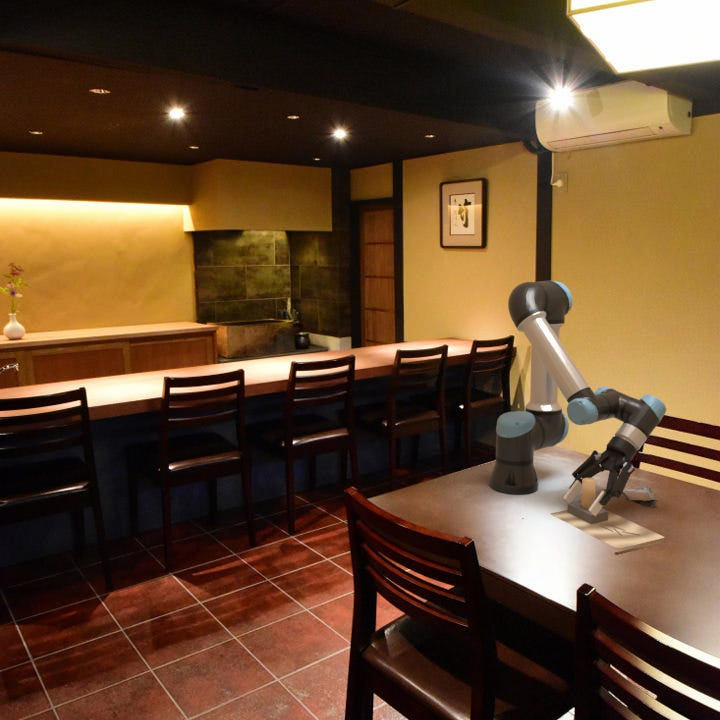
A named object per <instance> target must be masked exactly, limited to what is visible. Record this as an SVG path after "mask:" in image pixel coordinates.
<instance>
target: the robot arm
mask: <svg viewBox="0 0 720 720" xmlns="http://www.w3.org/2000/svg"><path fill="white" fill-rule="evenodd" d="M507 306H508V312H509V316H510V318H511V321H512V322H513V324H514V326H515V328H516V329H517V331H518V332H521V333H524V336H525V337H526V339H527V340H528V342H529V343H530V346H531V347H530V351H531V352H530V353H531V354H530V386H529V387H530V391H529V392H530V393H529V395H530V397H529V398H530V399H529V401H528V402H527V403H526V404H525V406H524V409H525V410H524V411H523V410H516V411H508V412H504V413H502V414H501V415H499V417H498V418H497V421H496V427H495V434H496V435H495V463H494V466H493V468H492V472H491V475H490V477H489V487H490V488H491V489H493V490H495V491H497V492H501V493H504V494H511V495H527V494H532V493H535V492H536V491H538V489H539V478H538V475H537V472H536V469H535V465H534V455H535V454H534V452H535V451H538V450H540V449H545V448H550V447H554V446H556V445H557V444H560V443H562V442H563V441H564V440H565V438H567V436H568V433H569V430H570V429H569V427H570V425H569V424H570V423H569V421H570V422H571V423H572V424H575V425H577V426H584V425H593V424H594V423H597V422H600V421H606V420H609V419H616V420H619V421H621V422H622V424H621V425H620V427H619V428H617V431H616V432H615V434H614V436H612V437H611V439H610V440H609V441H608V443H607V444H606V449H605V450H604V451H603V452H598V451H597V450H593V451H592V452H591V454H590V456H589V457H588V458H587V459H586V460H584V462H582V464H581V465H579V466H578V467H577V468H576V469H575V470H574V471H573V472H572V474H571V476H572V477H573V478H574V480H573V482H572V483H571V485H570V486H569V489H568V491H567V492H566V493H565V495H564V496H563V500H565V501H566V502H567V504H570V503H573V501H574V500H575V498H576V497H577V496H578V494H579V493H580V492H581V491H582V479H583V478H594V477H595V476H597V475H598V474H599V473H603V472H605V471H607V472H608V476H607V477H608V478H607V483H606V487H605V488H604V490H601V491H600V493H599V494H598V496H597V498H595V501H594V503H593V504H592V505H591V507H590V508H589V511H590V512H591V513H592V514H593V515H594V516H596V515H597V514H598V512H599V511H600V510H601V508H603V507H606V506H607V504H608V502H609V501H610V500H611V499H612V498H617V499H619V498H621V497H622V496H621V494H622V492H623V490H624V488H626V485H627V483H628V481H629V479H630V477H631V475H632V473H634V471H635V470H636V469H635V467H634V466H633V464H632V463H631V461H632V460H633V459H634V458H635V456H636V455H637V453H638V451H639V450H640V449H641V448H642V446H643V445H644V444H645V442H646V441H647V440H648V438H649V437H650V435H651V434H652V432H653V431H654V430H655V429H656V427H657V426H658V425H659V423H661V420H662V419H663V417H664V416H665V414H666V412H667V406H666V404H665V402H663V401H662V400H661V399H660V398H658V397H656V396H654V395H651V394H645V395H643V396H642V397H640V399H638V398H634V397H633V396H629V395H628V394H626V393H622V392H620V391H618V390H616V389H614V388H612V387H611V388H610V387H608V386H600V387H598V389H596V390H594V391H593V390H592V388H591V386H590V385H589V384H588V382H587V380H586V379H585V377H584V376H583V374H582V373H581V371H580V369H579V368H578V367H577V365H576V364H575V362H574V360H573V359H572V358H571V356H570V354H569V352H568V351H567V349H566V348H565V347H564V345H563V343H562V342H561V340H560V329H561V328H562V327H563V326H564V325H565V317H566V315H567V314H569V312H570V311H571V309H572V306H573V295H572V293H571V290H570V289H569V287H567V286H566V284H564V283H563V282H560V281H556V280H542V281H525V282H522V283H520V284H517V286H515V287H514V288H513V289H512V291H511V293H510V294H509V298H508V301H507ZM558 390H560V392H561V394H562V395H563V397H564V398H565V400H566V402H567V407H566V414H565V413H564V412H563V406H562V405H561V404H560V403H559V402H558ZM566 415H567V416H566ZM568 419H569V420H568Z"/></svg>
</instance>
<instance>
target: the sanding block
mask: <svg viewBox="0 0 720 720" xmlns="http://www.w3.org/2000/svg"><path fill="white" fill-rule="evenodd" d="M581 479H582V478H581ZM596 492H597V480H596V479H595V478H594V477H592V478H583V479H582V489H581V499H580V500H581V501H576V502H571V503H570V504H569V503H567V510H568V513H570V514H572V515H574V516H576V517H578V518H580V519H582V520H584V521H586V522H588V523H590V524H594V523H598V522H603V521H607V520H608V511H609V510H607V509H605V508H603V507H602V508H603V509H602V508H601V510H600V511H599V512H598V514H597V515H596V516H594V515H593V514H592V513H591V512H590V511H589V508H590V507H591V505H592V504H593V503H594V501H595V500H596V495H597V493H596ZM604 509H605V510H604ZM606 510H607V511H606Z"/></svg>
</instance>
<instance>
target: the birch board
mask: <svg viewBox="0 0 720 720" xmlns="http://www.w3.org/2000/svg"><path fill="white" fill-rule="evenodd" d="M602 509H604V510H606V511H608V520H607V521H603V522H598V523H594V524H590V523H588V522H586V521H584V520H582V519H580V518H578V517H576V516H574V515H572V514H570V513H568V509H565V510H560V511H555V512H552V513H551V512H550V513H549V514H550V515H552V516H553V517H556V518H557V519H559V520H561V521H563V522H565V523H567V524H569V525H571V526H573V527H575V528H577V529H579V530H580V531H581V532H582V531H583V532H584V533H585V534H588V535H590V536H592V537H594V538H595V539H597V540H599V541H601V542H603V543H605V544H607V545H609V546H611V547H613V548H615V549H616V550H620V551H616V552H614V554H615V555H617V556H619V554H620V555H623V553H624V554H627V552H628V553H631V552H636V551H639V550H643V549H646V548H651V547H655V546H659V545H663V544H665V543H666V540H665V536H663V535H661V534H659V533H657V532H655V531H652V530H650V529H648V528H646V527H643V526H641V525H639V524H637V523H635V522H633V521H631V520H628V519H627V518H624V517H622V516H620V515H618V514H615V513H613V512H612V511H609V510H607V509H605V508H603V507H602ZM662 539H664V540H662ZM656 540H659V541H656ZM653 541H656V542H653ZM649 542H651V543H649ZM646 543H647V544H646ZM648 543H649V544H648ZM640 544H641V545H640ZM642 544H643V545H642ZM644 544H645V545H644ZM638 545H640V546H638ZM633 546H635V547H633ZM630 547H632V548H630ZM626 548H627V549H626ZM621 549H624V550H621Z"/></svg>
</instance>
